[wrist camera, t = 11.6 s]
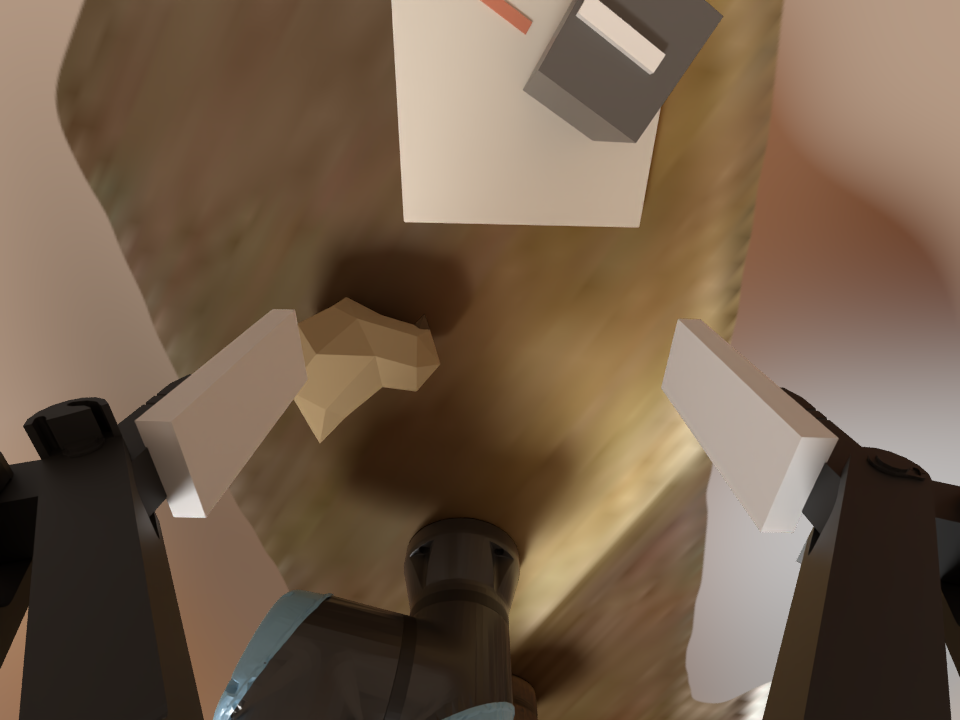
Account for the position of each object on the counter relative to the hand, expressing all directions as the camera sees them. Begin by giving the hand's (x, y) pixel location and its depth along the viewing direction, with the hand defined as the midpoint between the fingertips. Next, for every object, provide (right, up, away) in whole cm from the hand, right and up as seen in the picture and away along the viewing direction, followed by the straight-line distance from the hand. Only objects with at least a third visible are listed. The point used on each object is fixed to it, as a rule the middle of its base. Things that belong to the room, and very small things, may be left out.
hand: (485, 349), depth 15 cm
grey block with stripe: (+8, +21, +17) cm, 28 cm away
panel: (+4, +19, +20) cm, 28 cm away
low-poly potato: (-11, +2, +29) cm, 31 cm away
